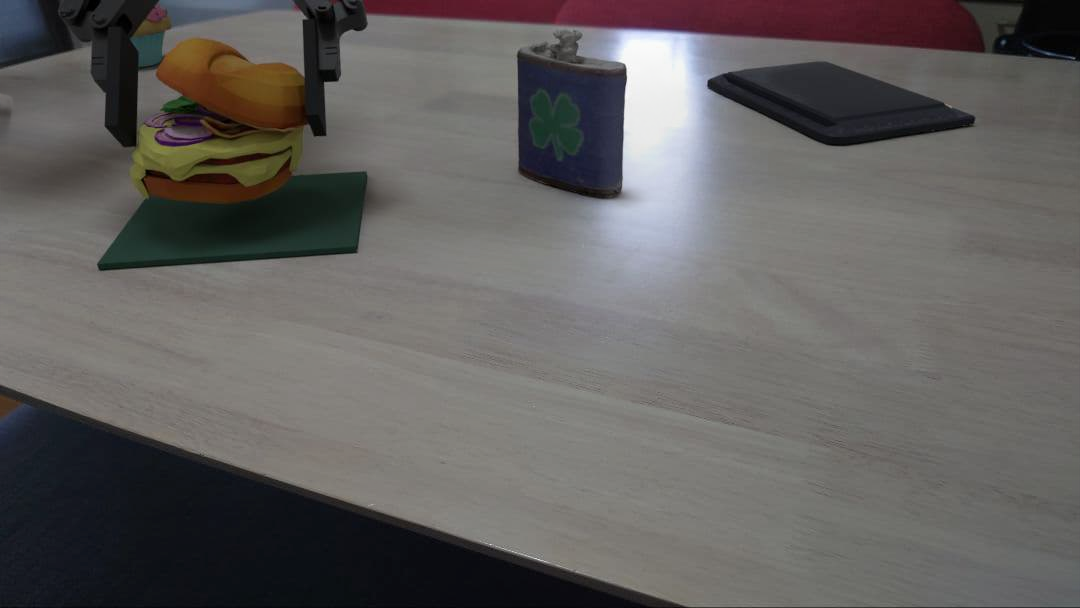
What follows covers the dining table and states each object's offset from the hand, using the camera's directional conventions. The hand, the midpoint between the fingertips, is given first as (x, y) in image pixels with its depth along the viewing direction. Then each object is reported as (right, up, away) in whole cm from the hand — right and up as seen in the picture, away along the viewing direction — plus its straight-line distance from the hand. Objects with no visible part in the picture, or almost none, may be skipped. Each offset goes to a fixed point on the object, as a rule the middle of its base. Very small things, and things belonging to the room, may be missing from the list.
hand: (220, 131), depth 49 cm
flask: (+21, -2, +11) cm, 24 cm away
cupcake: (-26, +17, +44) cm, 54 cm away
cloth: (0, -5, +6) cm, 7 cm away
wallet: (+46, +8, +27) cm, 54 cm away
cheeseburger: (-1, -3, +5) cm, 5 cm away
